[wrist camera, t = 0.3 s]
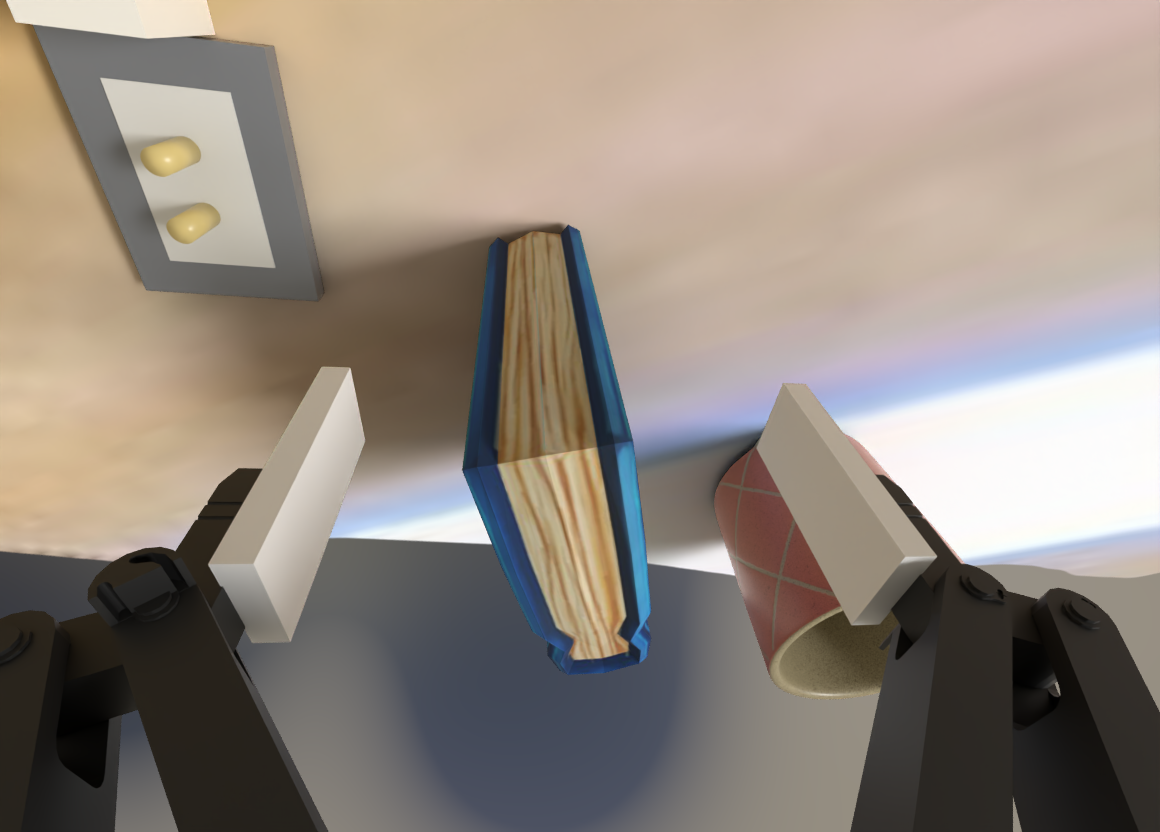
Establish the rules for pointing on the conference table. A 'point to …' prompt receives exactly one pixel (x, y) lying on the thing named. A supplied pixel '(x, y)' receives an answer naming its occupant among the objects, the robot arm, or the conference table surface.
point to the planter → (795, 591)
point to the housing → (119, 16)
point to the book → (557, 457)
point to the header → (192, 159)
